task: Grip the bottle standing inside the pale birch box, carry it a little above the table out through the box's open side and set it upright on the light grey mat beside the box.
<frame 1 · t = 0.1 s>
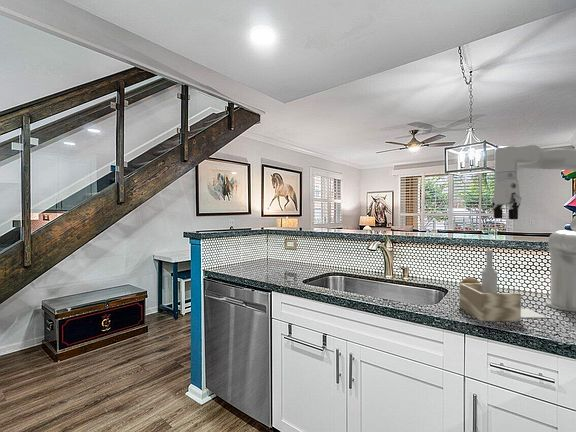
hand: (505, 218, 129), 37 cm above the worktop, tool pointing down, fingers open, 9 cm apart
open side box: (489, 313, 123), on the worktop
natural sponge: (471, 300, 142), on the worktop
bottle: (489, 314, 123), on the worktop
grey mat: (523, 313, 122), on the worktop
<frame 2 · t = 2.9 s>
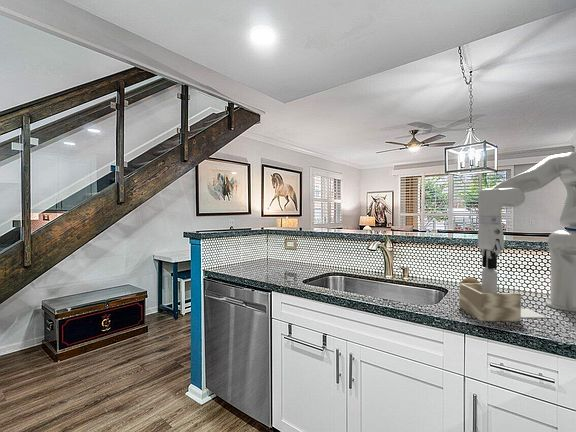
hand: (489, 267, 123), 18 cm above the worktop, tool pointing down, fingers closed on bottle, 2 cm apart
bottle: (489, 314, 123), on the worktop, touching gripper
everything else where it was.
when the fingers open (20 cm above the worktop, at t = 7.9 s): bottle drops 1 cm, resting on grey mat.
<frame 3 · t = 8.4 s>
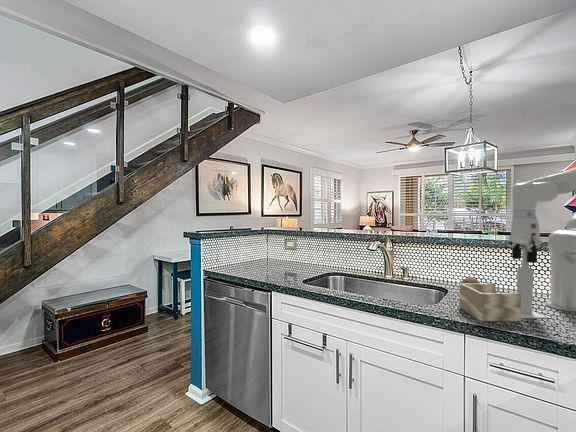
hand: (524, 260, 122), 21 cm above the worktop, tool pointing down, fingers open, 7 cm apart
bottle: (524, 313, 122), resting on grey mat
everything else where it was.
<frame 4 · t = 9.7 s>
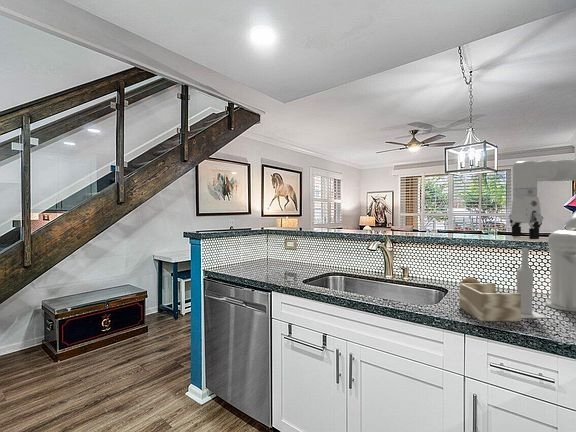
hand: (524, 237, 122), 30 cm above the worktop, tool pointing down, fingers open, 9 cm apart
nothing on the worktop moved.
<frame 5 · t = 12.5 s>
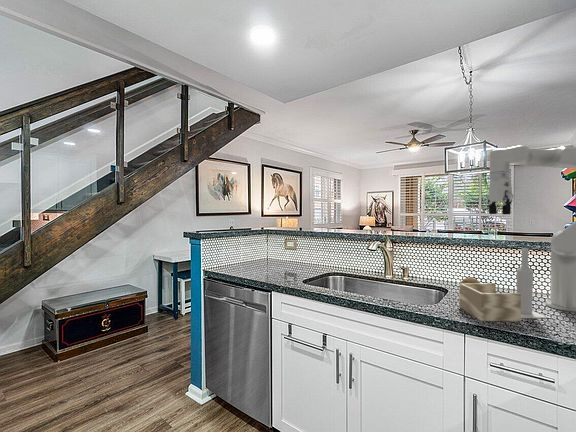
hand: (499, 214, 143), 38 cm above the worktop, tool pointing down, fingers open, 9 cm apart
nothing on the worktop moved.
at the end: bottle inside the target area (0.2 cm from its centre), on the worktop; bottle tilted 0°; the gripper is holding nothing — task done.
